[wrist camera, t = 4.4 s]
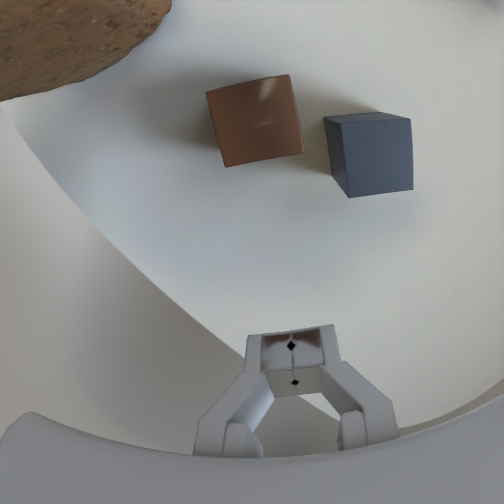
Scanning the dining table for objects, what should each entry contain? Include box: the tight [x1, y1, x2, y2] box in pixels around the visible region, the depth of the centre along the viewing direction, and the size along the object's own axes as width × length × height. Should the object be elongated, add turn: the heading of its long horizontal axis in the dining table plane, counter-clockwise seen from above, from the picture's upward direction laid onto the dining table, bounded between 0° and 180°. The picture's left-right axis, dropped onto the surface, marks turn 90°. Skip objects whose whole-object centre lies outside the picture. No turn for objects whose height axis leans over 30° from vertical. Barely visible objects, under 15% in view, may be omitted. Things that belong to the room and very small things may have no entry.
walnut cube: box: [205, 74, 305, 168], centre depth 15 cm, size 4×4×4 cm
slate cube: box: [324, 112, 413, 198], centre depth 15 cm, size 4×4×4 cm
